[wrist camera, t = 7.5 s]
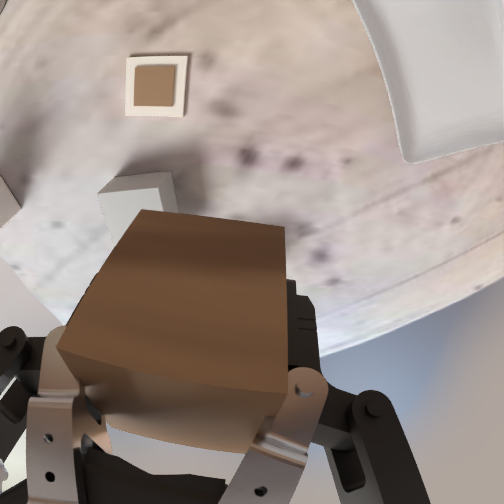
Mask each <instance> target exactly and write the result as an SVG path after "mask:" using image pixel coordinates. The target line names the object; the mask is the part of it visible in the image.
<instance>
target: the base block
mask: <svg viewBox="0 0 504 504" xmlns="http://www.w3.org/2000/svg"><path fill="white" fill-rule="evenodd" d="M97 196H98V199H99V202H100V206H101V209H102V212H103V215H104V218H105V221H106V224H107V227H108V230H109V233H110V236H111V239H112V242H113V244H114V247H115V246H116V244H117V243H118V241H119V240H120V238H121V237H122V236H123V234H124V233H125V231H126V230H127V228H128V227H129V225H130V224H131V223H132V221H133V220H134V218H135V217H136V216H137V214H138V213H139V211H140V210H141V209H146V210H155V211H164V212H172V213H179V209H178V204H177V199H176V194H175V188H174V183H173V178H172V172H171V171H166V172H155V173H146V174H137V175H128V176H120V177H114V178H113V179H112V180H111V181H110V182H109V183H108V184H107V185H106V186H105V187H104V188H103V189H102V190H100V191H99V192H98V193H97Z"/></svg>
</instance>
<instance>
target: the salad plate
mask: <svg viewBox="0 0 504 504" xmlns="http://www.w3.org/2000/svg"><path fill="white" fill-rule="evenodd" d="M352 2H353V4H354V7H355V9H356V11H357V13H358V15H359V17H360V19H361V21H362V24H363V26H364V28H365V30H366V33H367V35H368V37H369V40H370V42H371V45H372V47H373V50H374V53H375V55H376V58H377V61H378V64H379V67H380V69H381V72H382V76H383V79H384V82H385V85H386V89H387V93H388V96H389V100H390V104H391V108H392V113H393V117H394V123H395V128H396V134H397V139H398V144H399V148H400V152H401V156H402V158H403V160H404V162H405V163H407V164H409V165H413V164H418V163H423V162H427V161H430V160H434V159H438V158H441V157H445V156H448V155H452V154H456V153H459V152H463V151H467V150H471V149H475V148H479V147H484V146H488V145H493V144H498V143H503V142H504V0H352Z"/></svg>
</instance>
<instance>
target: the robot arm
mask: <svg viewBox="0 0 504 504" xmlns="http://www.w3.org/2000/svg"><path fill="white" fill-rule="evenodd" d="M5 2H6V0H0V13H1V11H2V9H3V7H4V5H5ZM97 274H98V273H97ZM97 274H96V275H97ZM96 275H95V276H94V278H93V280H94V279H95V277H96ZM93 280H92V281H91V283H92V282H93ZM91 283H90V285H91ZM89 287H90V286H88V288H89ZM286 287H287V332H288V394H287V396H286V398H285V400H284V402H283V404H282V406H281V408H280V410H279V412H278V414H277V416H276V417H271V416H265V418H264V420H263V422H262V424H261V426H260V428H259V430H258V432H257V434H256V436H255V437H254V439H253V441H252V443H251V445H250V447H249V449H248V451H247V453H246V454H245V456H244V458H243V460H242V462H241V464H240V466H239V467H238V469H237V471H236V473H235V475H234V476H233V478H232V480H231V482H230V484H229V485H227V484H225V479H218V478H211V477H204V476H197V475H192V474H181V475H152V474H149V473H147V472H145V471H143V470H141V469H139V468H137V467H136V466H134V465H132V464H130V463H128V462H127V461H125V460H123V459H121V458H120V457H117V456H114V455H113V453H112V446H111V441H110V438H109V435H108V433H107V429H106V421H105V414H104V413H103V411H102V410H101V409H99V408H96V407H95V406H94V405H93V403H92V402H91V401H90V399H89V398H88V396H87V395H86V394H85V386H84V384H83V382H82V381H81V379H80V378H77V377H74V376H73V375H72V373H71V372H70V370H69V369H68V367H67V365H66V364H65V362H64V361H63V359H62V357H61V356H60V354H59V352H58V351H57V349H56V346H57V344H58V342H59V340H60V338H61V336H62V334H63V332H64V330H65V329H66V327H67V325H68V323H69V321H70V319H71V318H72V316H73V314H74V312H75V311H76V309H77V307H78V305H79V304H80V302H81V300H82V298H83V297H84V295H85V294H84V295H83V296H82V298H81V300H80V301H79V303H78V305H77V306H76V308H75V310H74V312H73V313H72V315H71V317H70V319H69V320H68V322H67V324H66V325H65V326H60V327H57V328H55V329H53V330H52V331H51V332H50V333H49V334H48V336H47V337H27V336H26V335H25V333H24V331H23V330H22V329H21V328H19V327H16V326H11V327H7V328H5V329H4V330H2V331H1V332H0V395H1V393H2V392H3V391H4V389H5V388H6V387H7V385H8V384H9V383H10V381H11V380H12V379H13V378H14V376H15V378H16V380H15V381H14V383H13V384H12V385H11V387H10V388H9V389H8V391H7V392H6V393H5V395H4V396H3V398H2V399H1V400H0V504H289V502H290V500H291V498H292V496H293V494H294V492H295V489H296V487H297V485H298V482H299V480H300V478H301V475H302V473H303V471H304V468H305V465H306V463H307V459H308V455H307V451H308V448H309V445H310V443H311V442H313V443H316V444H319V445H322V446H324V449H325V452H326V455H327V459H328V462H329V465H330V469H331V472H332V475H333V478H334V482H335V485H336V489H337V492H338V496H339V499H340V502H341V504H431V503H430V500H429V497H428V494H427V492H426V489H425V486H424V483H423V481H422V478H421V475H420V473H419V470H418V467H417V464H416V462H415V459H414V457H413V454H412V452H411V449H410V446H409V444H408V441H407V439H406V437H405V434H404V431H403V429H402V427H401V424H400V422H399V419H398V417H397V415H396V412H395V410H394V407H393V405H392V403H391V401H390V400H389V399H388V397H387V396H386V395H384V394H383V393H381V392H379V391H374V390H367V391H364V392H361V393H360V394H359V395H354V394H351V393H348V392H345V391H342V390H339V389H337V388H335V387H333V386H332V385H330V384H329V383H328V382H327V381H326V379H325V378H324V377H323V375H322V372H321V369H320V360H319V347H318V337H317V332H316V331H317V326H316V322H315V321H316V317H315V308H314V306H313V304H312V303H311V301H310V299H309V298H308V296H301V295H297V294H296V281H295V280H289V279H286ZM88 288H87V289H86V291H85V293H86V292H87V290H88ZM25 429H26V468H27V469H26V470H27V478H26V479H25V480H23V481H21V482H20V483H18V484H16V485H15V486H13V487H11V488H10V489H8V490H6V491H4V492H3V493H2V481H5V480H7V478H8V472H7V470H6V469H5V468H4V464H3V463H4V462H5V460H6V459H7V457H8V455H9V454H10V452H11V451H12V449H13V448H14V446H15V444H16V443H17V441H18V440H19V438H20V437H21V435H22V434H23V432H24V430H25Z"/></svg>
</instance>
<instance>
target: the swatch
mask: <svg viewBox="0 0 504 504" xmlns="http://www.w3.org/2000/svg"><path fill="white" fill-rule="evenodd" d="M187 64H188V56H146V57H129V58H127V67H126V98H125V116H170V117H184V103H185V88H186V76H187Z"/></svg>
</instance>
